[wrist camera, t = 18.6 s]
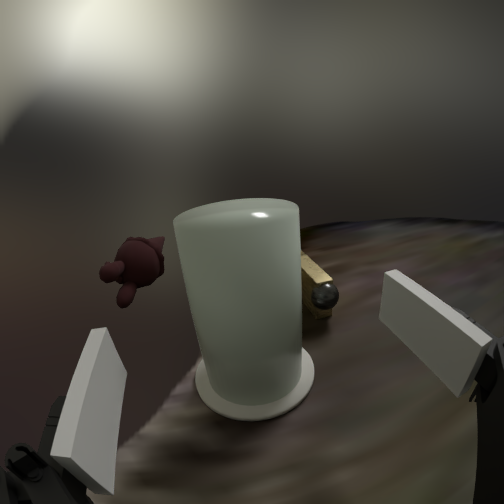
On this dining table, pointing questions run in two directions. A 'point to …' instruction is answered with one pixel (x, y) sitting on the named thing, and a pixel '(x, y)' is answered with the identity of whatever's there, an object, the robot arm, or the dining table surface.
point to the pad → (256, 411)
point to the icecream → (134, 267)
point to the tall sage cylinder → (245, 295)
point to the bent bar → (317, 289)
